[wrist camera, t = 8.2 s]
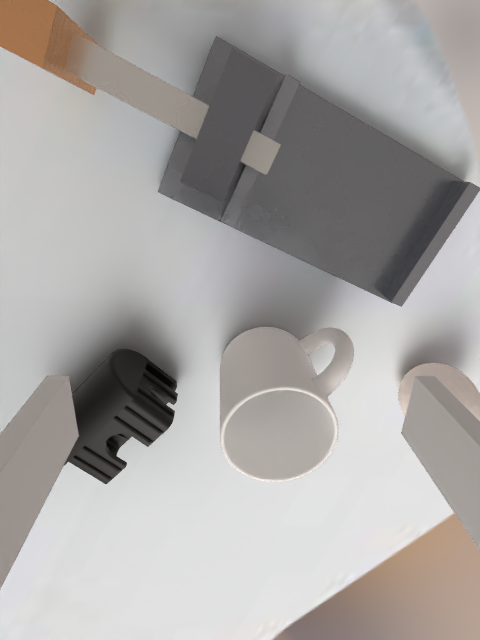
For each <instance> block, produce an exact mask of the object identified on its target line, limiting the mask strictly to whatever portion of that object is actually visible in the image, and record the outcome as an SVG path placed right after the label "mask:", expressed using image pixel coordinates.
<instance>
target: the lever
mask: <svg viewBox="0 0 480 640" xmlns="http://www.w3.org/2000/svg"><path fill="white" fill-rule="evenodd" d="M0 47H2V48H4V49H6V50H8V51H10V52H12V53H14V54H16V55H18V56H20V57H21V58H23V59H25V60H27V61H29V62H31V63H33V64H35V65H37V66H39V67H41V68H42V69H44V70H46V71H48V72H50V73H52V74H54V75H56V76H58V77H60V78H62V79H64V80H66V81H68V82H69V83H71V84H73V85H75V86H77V87H79V88H81V89H83V90H85V91H87V92H89V93H91V94H93V95H94V94H95V91H96V88H98V89H100V90H102V91H104V92H106V93H108V94H110V95H112V96H114V97H116V98H117V99H119V100H121V101H123V102H125V103H127V104H129V105H131V106H133V107H135V108H137V109H139V110H141V111H143V112H145V113H146V114H148V115H150V116H152V117H154V118H156V119H158V120H160V121H162V122H164V123H166V124H168V125H170V126H172V127H174V128H176V129H177V130H179V131H181V132H183V133H185V134H187V135H189V136H191V137H193V138H195V139H197V137H198V134H199V131H200V129H201V126H202V124H203V121H204V119H205V116H206V113H207V111H208V108H209V105H207V104H205V103H203V102H201V101H199V100H198V99H196V98H194V97H192V96H190V95H188V94H186V93H185V92H183V91H181V90H179V89H177V88H175V87H174V86H172V85H170V84H168V83H166V82H164V81H162V80H161V79H159V78H157V77H155V76H153V75H151V74H150V73H148V72H146V71H144V70H142V69H140V68H138V67H137V66H135V65H133V64H131V63H129V62H127V61H126V60H124V59H122V58H120V57H118V56H116V55H114V54H113V53H111V52H109V51H107V50H105V49H103V48H102V47H100V46H98V45H97V44H96V43H95V42H94V41H93V40H92V39H91V38H90V37H89V36H88V35H87V34H86V33H85V32H84V31H83V30H82V29H81V28H80V27H79V26H78V25H77V24H76V23H75V22H73V21H72V20H71V19H70V18H69V17H68V16H67V15H66V14H65V13H64V12H63V11H62V10H61V9H60V8H59V7H58V6H57V5H55V4H53V3H51V2H50V1H48V0H0ZM280 146H281V144H279V143H277V142H275V141H273V140H271V139H270V138H268V137H266V136H264V135H262V134H260V133H259V132H257V131H255V130H254V131H253V133H252V135H251V138H250V140H249V142H248V144H247V147H246V149H245V151H244V154H243V156H242V158H241V160H240V162H241V163H243V164H245V165H247V166H249V167H251V168H253V169H255V170H257V171H259V172H261V173H263V174H265V175H267V174H268V171H269V169H270V167H271V165H272V163H273V161H274V159H275V156H276V154H277V152H278V150H279V148H280Z"/></svg>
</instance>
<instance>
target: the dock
mask: <svg viewBox="0 0 480 640" xmlns="http://www.w3.org/2000/svg"><path fill="white" fill-rule="evenodd" d="M299 84H300V82H299V81H298V80H296V79H294V78H292V77H291V76H289V75H287V74H286V75H285V76H284V75H282V74H280V73H278V72H277V71H275V70H273V69H272V68H270V67H268V66H266V65H265V64H263V63H261V62H260V61H258V60H256V59H255V58H253V57H251V56H249V55H248V54H246V53H244V52H243V51H241V50H239V49H238V48H236V47H234V46H232V45H231V44H229V43H227V42H226V41H224V40H222V39H220V38H219V37H217V36H216V37H215V40H214V42H213V45H212V48H211V50H210V53H209V56H208V58H207V61H206V64H205V67H204V69H203V72H202V75H201V77H200V80H199V83H198V85H197V88H196V91H195V93H194V96H193V97H194V98H196V99H198V100H199V101H201V102H203V103H205V104H207V105H209V108H208V111H207V113H206V116H205V119H204V121H203V124H202V126H201V129H200V131H199V134H198V137H197V139H195V138H193V137H191V136H189V135H187V134H185V133H183V132H181V131H180V134H179V136H178V139H177V142H176V144H175V147H174V150H173V152H172V155H171V158H170V161H169V163H168V166H167V169H166V171H165V174H164V177H163V179H162V182H161V185H160V187H159V190H158V192H159V193H161V194H163V195H165V196H167V197H169V198H172V199H174V200H176V201H178V202H180V203H182V204H184V205H186V206H188V207H191V208H193V209H195V210H197V211H199V212H201V213H203V214H205V215H207V216H210V217H212V218H214V219H216V220H218V221H220V222H222V223H224V224H226V225H229V226H231V227H233V228H235V229H237V230H239V231H241V232H243V233H246V234H248V235H250V236H252V237H254V238H256V239H258V240H260V241H262V242H265V243H267V244H269V245H271V246H273V247H275V248H277V249H279V250H281V251H284V252H286V253H288V254H290V255H292V256H294V257H296V258H298V259H300V260H303V261H305V262H307V263H309V264H311V265H313V266H315V267H317V268H319V269H322V270H324V271H326V272H328V273H330V274H332V275H334V276H336V277H339V278H341V279H343V280H345V281H347V282H349V283H351V284H353V285H355V286H358V287H360V288H362V289H364V290H366V291H368V292H370V293H372V294H374V295H377V296H379V297H381V298H383V299H385V300H387V301H389V302H391V303H393V304H394V303H395V304H397V305H399V306H401V307H402V305H403V304H404V302H405V301H406V299H407V298H408V296H409V295H410V293H411V292H412V290H413V289H414V288H415V286H416V285H417V283H418V282H419V280H420V279H421V277H422V276H423V274H424V273H425V271H426V270H427V268H428V267H429V265H430V264H431V262H432V261H433V259H434V258H435V256H436V255H437V253H438V252H439V250H440V249H441V247H442V246H443V244H444V243H445V241H446V240H447V238H448V237H449V235H450V234H451V232H452V231H453V229H454V228H455V227H456V225H457V224H458V222H459V221H460V219H461V218H462V216H463V215H464V213H465V212H466V210H467V209H468V207H469V206H470V204H471V203H472V201H473V200H474V198H475V197H476V195H477V194H478V192H479V191H480V188H479V187H478V186H476V185H474V184H472V183H471V182H464V181H462V180H461V179H459V178H457V177H456V176H454V175H452V174H450V173H449V172H447V171H445V170H444V169H442V168H440V167H439V166H437V165H435V164H433V163H432V162H430V161H428V160H427V159H425V158H423V157H422V156H420V155H418V154H416V153H415V152H413V151H411V150H410V149H408V148H406V147H404V146H403V145H401V144H399V143H398V142H396V141H394V140H393V139H391V138H389V137H387V136H386V135H384V134H382V133H381V132H379V131H377V130H376V129H374V128H372V127H370V126H369V125H367V124H365V123H364V122H362V121H360V120H358V119H357V118H355V117H353V116H352V115H350V114H348V113H347V112H345V111H343V110H341V109H340V108H338V107H336V106H335V105H333V104H331V103H330V102H328V101H326V100H324V99H323V98H321V97H319V96H318V95H316V94H314V93H312V92H311V91H309V90H307V89H306V88H304V87H302V86H301V85H299ZM254 130H255V131H257V132H259V133H260V134H262V135H264V136H266V137H268V138H270V139H271V140H273V141H275V142H277V143H279V144H281V146H280V148H279V150H278V152H277V154H276V156H275V159H274V161H273V163H272V165H271V167H270V169H269V171H268V174H267V175H265V174H263V173H261V172H259V171H257V170H255V169H253V168H251V167H249V166H247V165H245V164H243V163H241V162H240V160H241V158H242V156H243V154H244V151H245V149H246V147H247V144H248V142H249V140H250V138H251V135H252V133H253V131H254Z"/></svg>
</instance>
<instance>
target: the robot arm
mask: <svg viewBox="0 0 480 640" xmlns="http://www.w3.org/2000/svg"><path fill="white" fill-rule="evenodd" d="M401 434H402V435H403V437H404V438H405V439H406V441H407V442H408V444H409V445H410V447H411V448H412V450H413V451H414V453H415V454H416V456H417V457H418V459H419V460H420V462H421V463H422V465H423V466H424V468H425V469H426V471H427V472H428V474H429V475H430V477H431V478H432V480H433V481H434V483H435V484H436V486H437V487H438V489H439V490H440V492H441V493H442V495H443V496H444V498H445V499H446V501H447V502H448V504H449V505H450V507H451V508H452V510H453V511H454V513H455V514H456V516H457V517H458V519H459V520H460V522H461V523H462V525H463V526H464V528H465V529H466V531H467V532H468V534H469V535H470V537H471V538H472V540H473V541H474V543H475V544H476V546H477V547H478V549H479V550H480V421H479V420H478V419H477V418H476V417H475V416H474V415H473V414H472V413H471V412H470V411H469V410H468V409H467V408H466V407H465V406H464V405H463V404H462V403H461V402H460V401H459V400H458V399H457V398H456V397H455V396H454V395H453V394H452V393H451V392H450V391H449V390H448V389H447V388H446V387H445V386H444V385H443V384H442V383H441V382H440V381H439V380H438V379H437V378H436V377H435V376H415V380H414V384H413V388H412V392H411V396H410V400H409V404H408V408H407V412H406V416H405V420H404V424H403V428H402V432H401ZM78 436H79V434H78V428H77V422H76V416H75V410H74V404H73V399H72V393H71V387H70V381H69V376H46V378H45V379H44V380H43V381H42V383H41V384H40V385H39V386H38V388H37V389H36V390H35V391H34V393H33V394H32V395H31V396H30V398H29V399H28V400H27V401H26V403H25V404H24V405H23V406H22V408H21V409H20V410H19V411H18V413H17V414H16V415H15V416H14V418H13V419H12V420H11V421H10V423H9V424H8V425H7V426H6V428H5V429H4V430H3V431H2V433H1V434H0V589H1V587H2V585H3V583H4V581H5V579H6V577H7V575H8V573H9V571H10V569H11V567H12V565H13V563H14V562H15V560H16V558H17V556H18V554H19V552H20V550H21V548H22V546H23V544H24V542H25V540H26V538H27V536H28V534H29V532H30V530H31V528H32V526H33V524H34V522H35V520H36V519H37V517H38V515H39V513H40V511H41V509H42V507H43V505H44V503H45V501H46V499H47V497H48V495H49V493H50V491H51V489H52V487H53V485H54V483H55V481H56V479H57V477H58V475H59V474H60V472H61V470H62V468H63V466H64V464H65V462H66V460H67V458H68V456H69V454H70V452H71V450H72V448H73V446H74V444H75V442H76V440H77V438H78Z"/></svg>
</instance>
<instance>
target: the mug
mask: <svg viewBox="0 0 480 640" xmlns="http://www.w3.org/2000/svg"><path fill="white" fill-rule="evenodd" d="M330 343H331V344H334V346H335V354H334V357H333V359H332V361H331V363H330V364H329V366H328V367H327V368H326V369H325V370H324V371H323V372H322V373H321V374H319V375H317V373H316V371H315V369H314V367H313V365H312V363H311V361H310V358H309V354H311V353H312V352H313V351H314V350H316V349H317V348H319V347H321V346H322V345H325V344H330ZM353 357H354V348H353V344H352V341H351V339H350V338H349V336H348V335H347V334H346V333H345V332H344V331H342V330H340V329H337V328H323V329H320V330H317V331H315V332H313V333H311V334H309V335H307V336H306V337H304V338H303V339H301V340H300V341H299V340H298V339H297V338H296V337H295V336H293V335H292V334H290V333H289V332H287V331H285V330H282V329H279V328H275V327H257V328H253V329H250V330H247V331H245V332H243V333H241V334H240V335H238V336H237V337H235V338H234V339H233V340H232V341H231V342H230V343H229V345H228V346H227V348H226V349H225V351H224V353H223V356H222V359H221V364H220V442H221V448H222V450H223V453H224V455H225V457H226V458H227V460H228V461H229V463H230V464H231V465H232V466H233V467H234V468H235V469H237V470H238V471H239V472H241V473H243V474H244V475H246V476H249V477H251V478H254V479H257V480H262V481H271V482H278V481H287V480H292V479H296V478H299V477H302V476H304V475H306V474H308V473H310V472H312V471H313V470H315V469H316V468H318V467H319V466H320V465H321V464H322V463H323V462H325V461H326V459H327V458H328V457H329V456H330V454H331V453H332V451H333V449H334V447H335V445H336V442H337V438H338V421H337V417H336V415H335V412H334V410H333V408H332V406H331V404H330V402H329V400H328V396H329V395H330V394H331V393H332V392H333V391H334V390H335V389H336V388H337V387H338V386H339V385H340V384H341V383H342V381H343V380H344V379H345V377H346V376H347V374H348V372H349V370H350V368H351V366H352V362H353Z"/></svg>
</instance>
